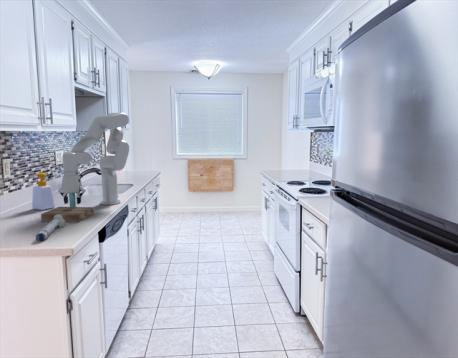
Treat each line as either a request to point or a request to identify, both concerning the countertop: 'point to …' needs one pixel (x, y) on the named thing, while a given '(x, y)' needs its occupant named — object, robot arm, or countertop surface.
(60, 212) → the socket block
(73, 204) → the peg
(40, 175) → the soap bottle
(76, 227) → the countertop surface
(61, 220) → the white handheld massager
